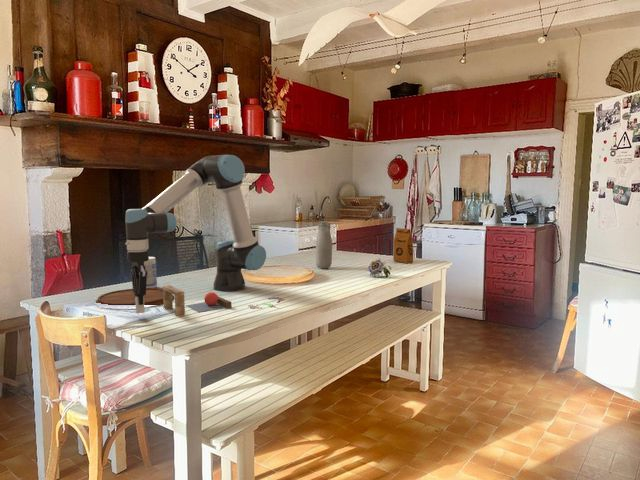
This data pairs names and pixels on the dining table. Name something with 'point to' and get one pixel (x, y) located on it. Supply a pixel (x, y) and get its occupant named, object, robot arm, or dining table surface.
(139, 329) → the dining table surface
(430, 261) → the dining table surface
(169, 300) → the bridge
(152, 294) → the cutting board
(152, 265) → the supplement tub
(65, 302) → the dining table surface
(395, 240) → the coffee package
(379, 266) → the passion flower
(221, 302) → the kerb
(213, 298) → the ball
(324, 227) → the grey bottle
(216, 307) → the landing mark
